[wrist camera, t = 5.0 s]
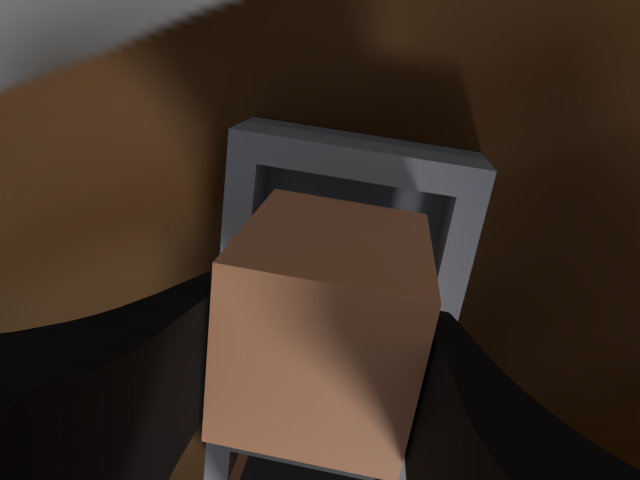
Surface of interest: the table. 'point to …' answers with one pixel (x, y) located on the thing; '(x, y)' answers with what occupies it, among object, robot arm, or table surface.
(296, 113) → the table surface
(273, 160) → the grey rimmed tray
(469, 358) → the robot arm
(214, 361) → the tan matte cube
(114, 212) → the table surface
